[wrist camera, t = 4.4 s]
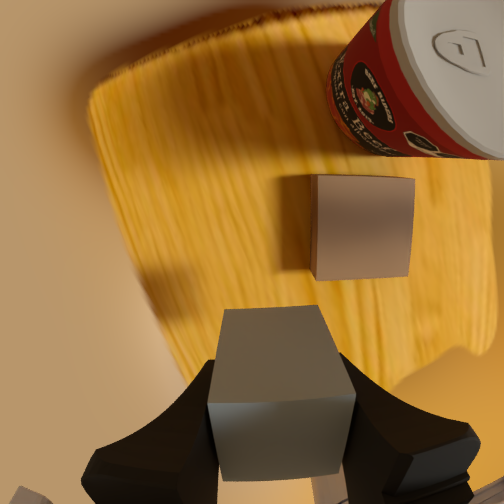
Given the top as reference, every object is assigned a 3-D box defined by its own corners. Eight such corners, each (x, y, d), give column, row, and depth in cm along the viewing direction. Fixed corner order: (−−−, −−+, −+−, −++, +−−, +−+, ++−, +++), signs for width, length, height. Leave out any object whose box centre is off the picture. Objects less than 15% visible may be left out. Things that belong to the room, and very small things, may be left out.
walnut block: (392, 264, 21) (407, 276, 18) (309, 267, 21) (316, 281, 18) (397, 176, 19) (415, 178, 16) (309, 174, 19) (317, 175, 17)
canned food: (301, 65, 17) (351, -29, 6) (402, 36, 16) (497, -31, 5) (354, 176, 19) (459, 195, 8) (448, 136, 18) (569, 133, 7)
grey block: (313, 378, 14) (338, 473, 9) (231, 382, 15) (223, 481, 9) (317, 304, 13) (356, 393, 8) (224, 309, 14) (207, 403, 8)
